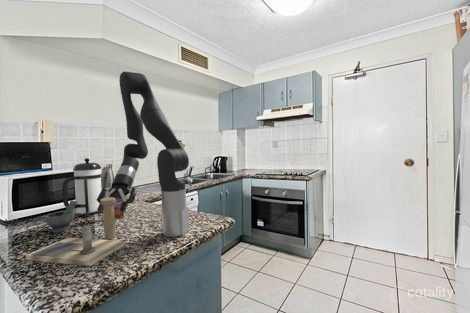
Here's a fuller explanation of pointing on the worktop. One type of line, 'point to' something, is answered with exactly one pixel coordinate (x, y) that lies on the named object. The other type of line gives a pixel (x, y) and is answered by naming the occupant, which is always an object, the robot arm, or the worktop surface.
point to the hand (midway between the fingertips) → (110, 212)
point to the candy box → (116, 208)
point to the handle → (109, 217)
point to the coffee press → (85, 187)
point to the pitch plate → (76, 250)
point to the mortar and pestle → (61, 218)
